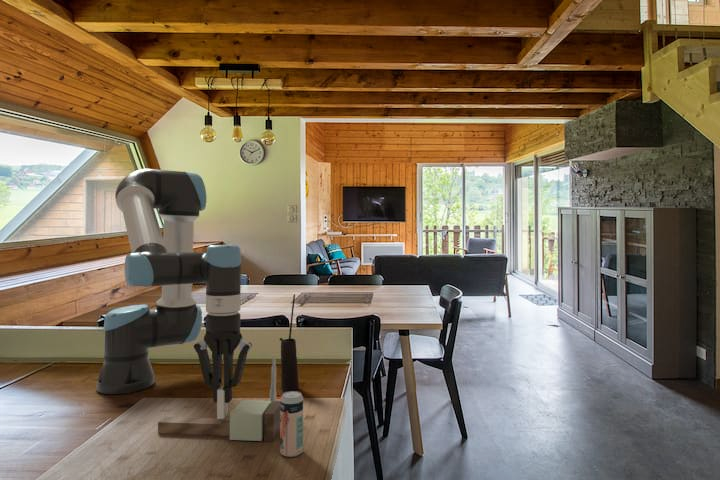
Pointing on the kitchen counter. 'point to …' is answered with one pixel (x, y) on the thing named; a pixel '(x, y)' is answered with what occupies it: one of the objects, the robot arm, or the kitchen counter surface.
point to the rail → (218, 425)
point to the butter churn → (289, 361)
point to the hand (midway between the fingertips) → (222, 416)
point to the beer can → (291, 424)
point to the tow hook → (273, 382)
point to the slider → (248, 420)
